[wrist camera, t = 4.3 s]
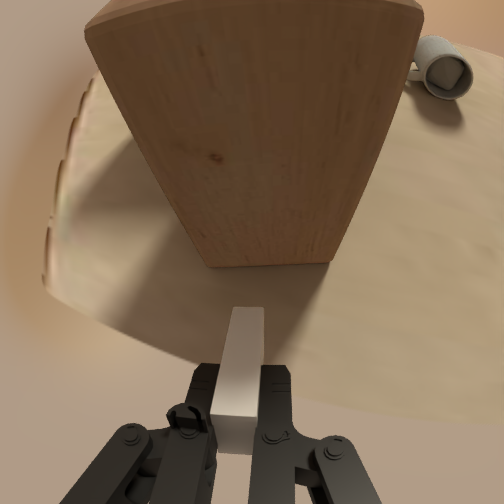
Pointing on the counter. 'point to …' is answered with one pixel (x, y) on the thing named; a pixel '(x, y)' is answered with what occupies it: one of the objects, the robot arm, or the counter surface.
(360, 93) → the wooden block
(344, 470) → the robot arm
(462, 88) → the ceramic mug
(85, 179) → the counter surface
